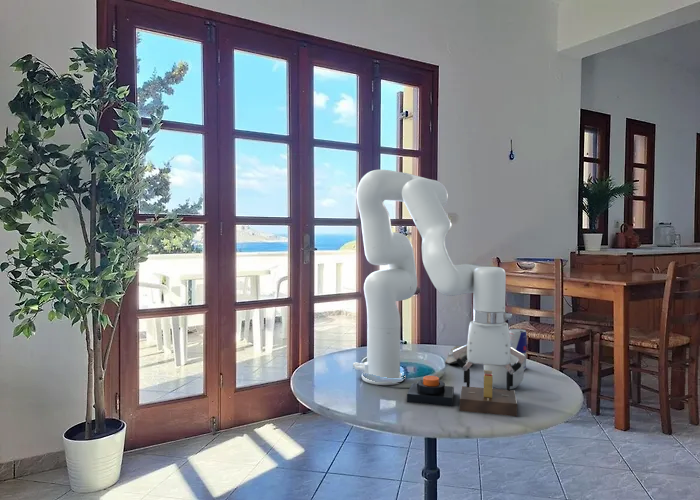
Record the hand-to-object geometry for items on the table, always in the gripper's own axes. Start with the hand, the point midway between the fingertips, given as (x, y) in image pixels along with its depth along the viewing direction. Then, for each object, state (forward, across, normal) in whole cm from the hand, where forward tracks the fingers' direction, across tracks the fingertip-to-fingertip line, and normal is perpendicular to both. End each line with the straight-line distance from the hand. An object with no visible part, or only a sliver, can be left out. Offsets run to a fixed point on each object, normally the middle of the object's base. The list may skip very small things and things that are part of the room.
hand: (487, 387), depth 121 cm
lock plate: (+5, 0, 0) cm, 5 cm away
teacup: (+5, -4, -19) cm, 20 cm away
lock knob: (+2, 0, 0) cm, 2 cm away
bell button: (+1, +14, -2) cm, 14 cm away
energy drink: (+5, -9, -37) cm, 38 cm away
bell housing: (+5, +14, -2) cm, 15 cm away
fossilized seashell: (+5, +7, -37) cm, 38 cm away
